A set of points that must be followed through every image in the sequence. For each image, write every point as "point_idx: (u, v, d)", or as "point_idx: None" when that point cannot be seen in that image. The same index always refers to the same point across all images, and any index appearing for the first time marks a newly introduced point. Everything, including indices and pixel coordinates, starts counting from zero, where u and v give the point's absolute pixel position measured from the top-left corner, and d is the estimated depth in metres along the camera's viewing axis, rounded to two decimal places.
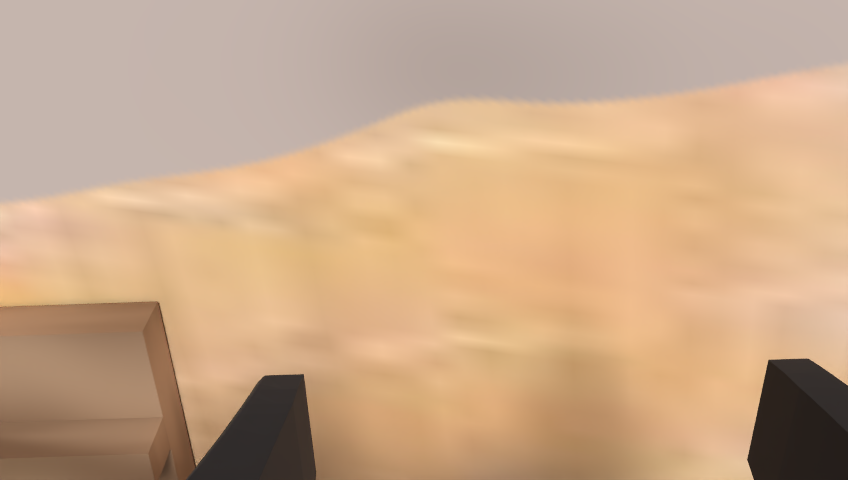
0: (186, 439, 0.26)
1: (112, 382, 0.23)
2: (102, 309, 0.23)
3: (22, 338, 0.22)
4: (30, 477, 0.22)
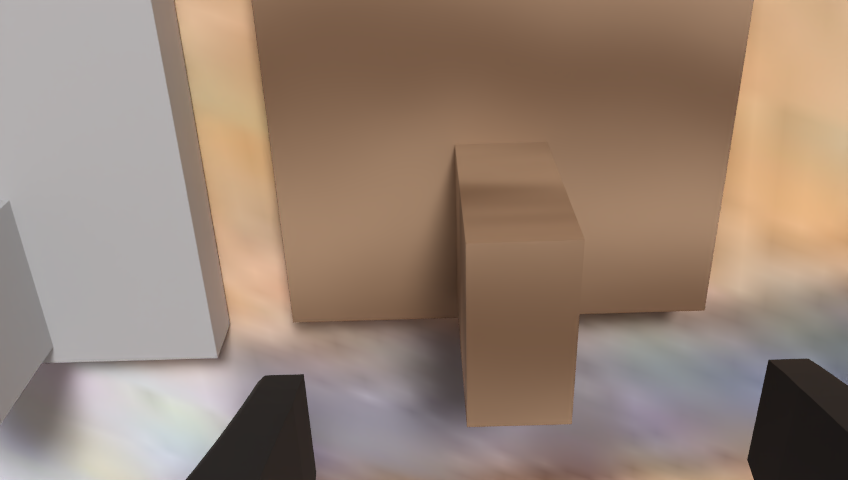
0: None
1: None
2: None
3: None
4: None
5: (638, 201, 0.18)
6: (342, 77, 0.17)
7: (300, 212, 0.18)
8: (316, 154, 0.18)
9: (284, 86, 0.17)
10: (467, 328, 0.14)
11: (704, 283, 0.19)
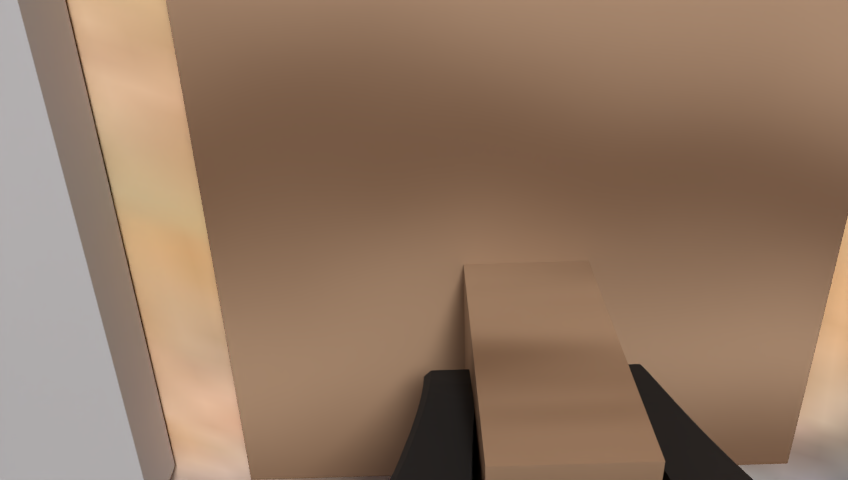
0: None
1: None
2: None
3: None
4: None
5: (708, 334, 0.14)
6: (309, 179, 0.12)
7: (256, 349, 0.14)
8: (276, 277, 0.13)
9: (229, 191, 0.12)
10: None
11: (789, 431, 0.15)
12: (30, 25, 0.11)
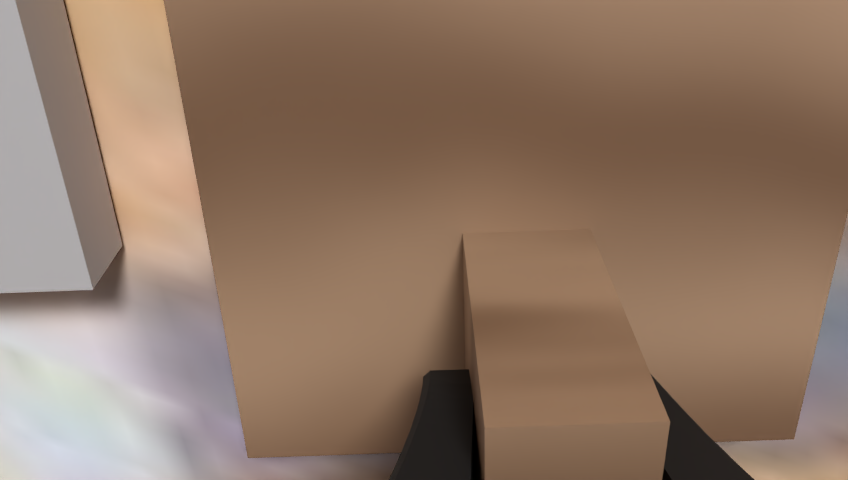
0: None
1: None
2: None
3: None
4: None
5: (712, 304, 0.13)
6: (303, 146, 0.12)
7: (252, 322, 0.13)
8: (271, 247, 0.13)
9: (223, 158, 0.12)
10: None
11: (795, 406, 0.14)
12: None
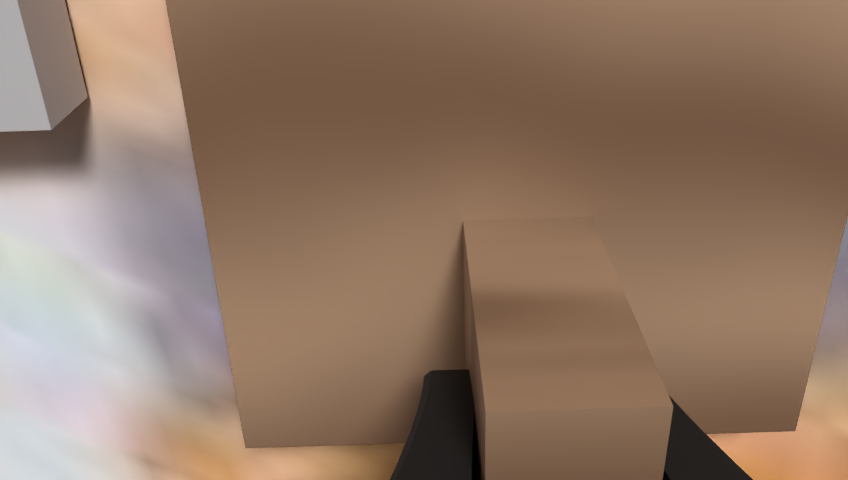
0: None
1: None
2: None
3: None
4: None
5: (714, 294, 0.13)
6: (303, 131, 0.12)
7: (250, 310, 0.13)
8: (270, 234, 0.13)
9: (221, 143, 0.12)
10: None
11: (797, 397, 0.14)
12: None
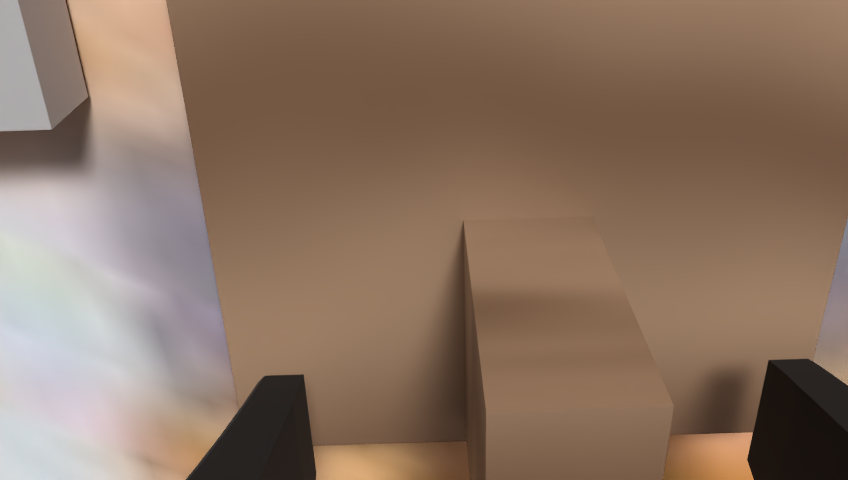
0: None
1: None
2: None
3: None
4: None
5: (715, 294, 0.13)
6: (303, 130, 0.12)
7: (250, 310, 0.13)
8: (270, 234, 0.13)
9: (222, 142, 0.12)
10: None
11: None
12: None
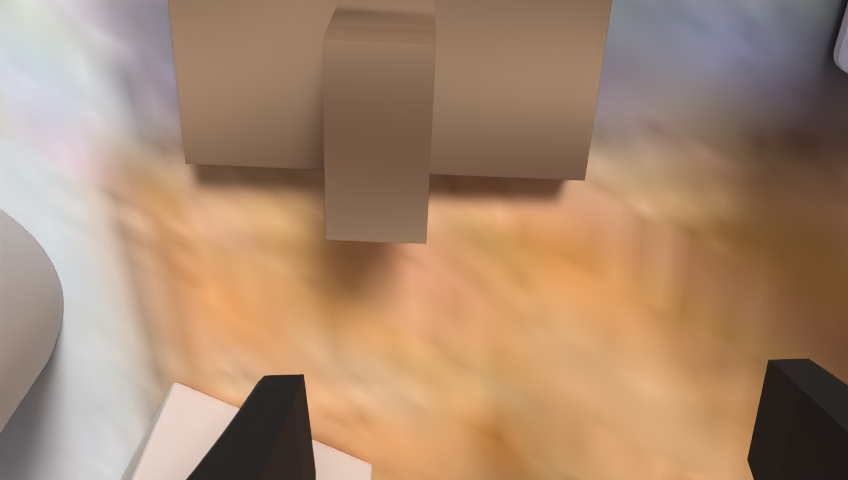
0: None
1: None
2: None
3: None
4: None
5: (522, 60, 0.19)
6: None
7: (193, 46, 0.19)
8: None
9: None
10: (324, 132, 0.15)
11: (585, 152, 0.20)
12: None
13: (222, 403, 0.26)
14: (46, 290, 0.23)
